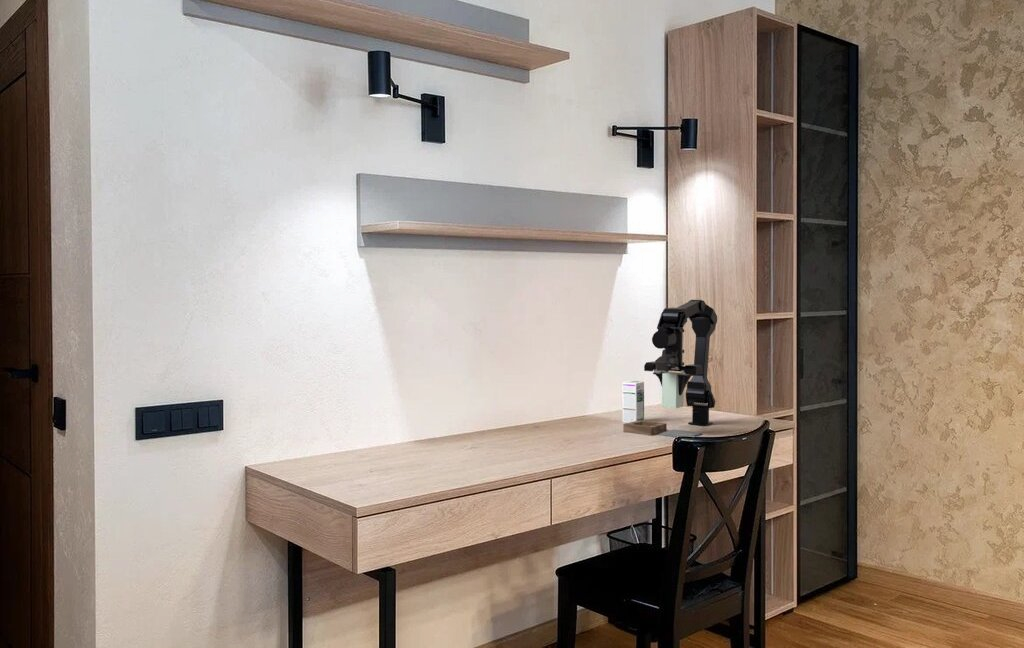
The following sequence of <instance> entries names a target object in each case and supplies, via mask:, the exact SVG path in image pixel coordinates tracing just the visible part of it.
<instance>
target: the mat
mask: <svg viewBox="0 0 1024 648" xmlns="http://www.w3.org/2000/svg"><path fill="white" fill-rule="evenodd" d="M700 435H702V432H700V431H699V432H697V431H689V430H681V429H674V428H673V429H670V430H667V431H665V432H661V433H659V436H662V437H663V436H664V437H670V438H671V437H672V438H678V437H677V436H695V437H698V436H700Z"/></svg>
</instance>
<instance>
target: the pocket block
mask: <svg viewBox="0 0 1024 648" xmlns="http://www.w3.org/2000/svg"><path fill="white" fill-rule="evenodd" d="M622 425H623V427H622V430H623V432H624V433H631V434H639V435H646V436H654V435H658V434H660V433H663V432H667V431H668V430H667V423H666V422H657V421H650V420H644V421H641V420H638V421H634V422H630V423H623V424H622Z"/></svg>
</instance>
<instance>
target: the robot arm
mask: <svg viewBox="0 0 1024 648" xmlns="http://www.w3.org/2000/svg"><path fill="white" fill-rule="evenodd" d="M688 320H690V322H691V328H692V330H693V333H694V334H695V344H694V359H693V364H685V362H683V354H684V353H685V349H683V347H684V346H683V340H684V339H683V338H684V336H683V333H685V329H684V327H685V325H686V323H688ZM717 323H718V315H717V313H716V311H715V310H714V308H712V307H711V306H709V305H708V304H706V302H705V300H702V299H690V300H688V301H687V302H686V303H683V304H681V305H680V306H678V307H665V308H664V309H663V310H662V312H661V314H660V317H659V320H658V323H657V325H656V326H657V327H656V329H657V331H655V332H654V333H653V334H652V337H651V343H652V344H653V346H654V347H655V348H657V349H660V350H662V349H663V350H662V352H661V356H659V357H658V358H656V359H655V360H654V361H647V362H645V363H644V365H643V371H644V372H652V374H653V375H655V376H656V377H657V378H658V381H659V383H660V386H662V373H668V372H680V373H681V374H680V375H678V377H679V395H682V393H683V394H684V391H685V389H686V391H685V401H686V406H687V407H692V410H691V412H692V414H691V415H692V416H691V417H692V418H691V421H689V422H687V423H688V425H695V426H703V427H704V426H709V425H712V424H713V423H714V422H713V421H710V409H714V408H715V407H716V399H715V397H714V394H713V392H712V384H710V381H709V379H708V369H709V367H708V366H709V357H710V356H709V355H710V341H711V339H710V338H711V336H712V335H713V333H714V332H715V330H716V325H717ZM691 377H692V378H691Z"/></svg>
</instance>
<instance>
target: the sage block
mask: <svg viewBox="0 0 1024 648" xmlns="http://www.w3.org/2000/svg"><path fill="white" fill-rule="evenodd" d="M667 372H668V373H662V385H661V389H662V390H661V399H662V400H661V407H662V408H666V409H667V408H668V409H680V408H683V407H684V392H683V393H682V395H679V377H678V375H680V374H681V372H676V371H667Z"/></svg>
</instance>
